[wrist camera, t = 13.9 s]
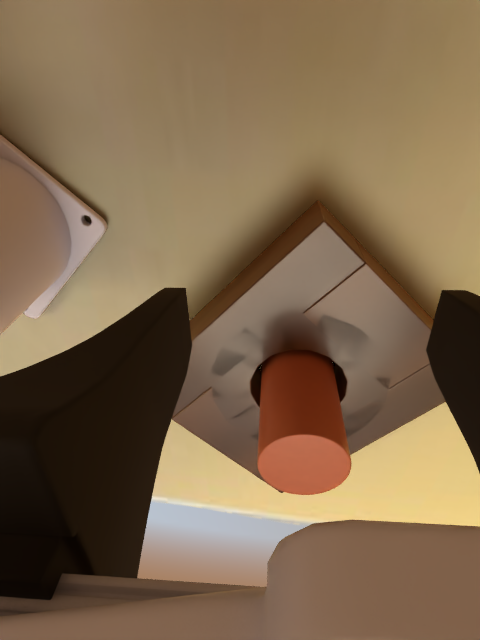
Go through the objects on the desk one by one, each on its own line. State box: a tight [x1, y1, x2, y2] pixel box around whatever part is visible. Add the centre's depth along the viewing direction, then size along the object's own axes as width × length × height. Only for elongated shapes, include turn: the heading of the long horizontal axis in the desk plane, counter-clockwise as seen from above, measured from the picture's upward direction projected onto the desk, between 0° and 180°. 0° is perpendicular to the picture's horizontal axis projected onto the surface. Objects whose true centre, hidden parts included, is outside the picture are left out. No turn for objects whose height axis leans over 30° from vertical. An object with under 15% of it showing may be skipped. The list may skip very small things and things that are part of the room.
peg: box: [257, 350, 351, 495], centre depth 21 cm, size 4×4×8 cm
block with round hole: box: [172, 201, 446, 493], centre depth 23 cm, size 12×14×3 cm
